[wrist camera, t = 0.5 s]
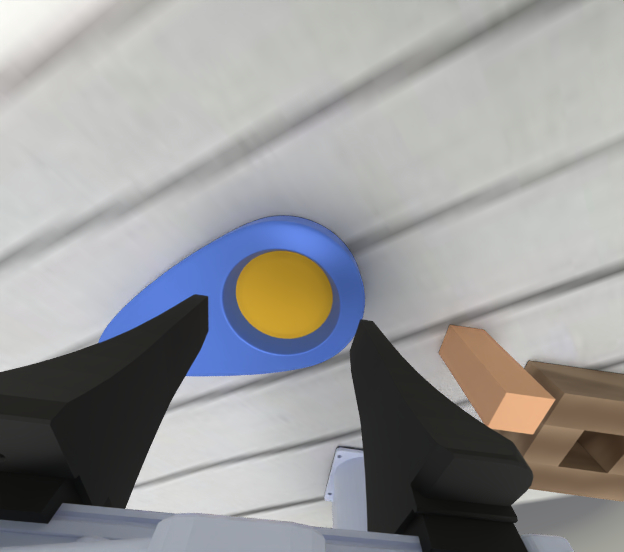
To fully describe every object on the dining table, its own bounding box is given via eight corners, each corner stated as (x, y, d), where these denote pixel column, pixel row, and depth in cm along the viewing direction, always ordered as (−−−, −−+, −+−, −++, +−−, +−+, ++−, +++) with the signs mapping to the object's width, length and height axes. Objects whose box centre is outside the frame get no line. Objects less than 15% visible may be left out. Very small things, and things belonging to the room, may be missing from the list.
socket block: (585, 460, 30) (623, 501, 26) (481, 446, 29) (504, 485, 26) (650, 378, 25) (706, 413, 22) (528, 360, 25) (564, 393, 21)
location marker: (157, 386, 29) (377, 329, 25) (136, 412, 26) (384, 352, 21) (83, 283, 25) (334, 190, 20) (47, 300, 22) (334, 194, 17)
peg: (471, 357, 25) (532, 434, 18) (438, 352, 25) (486, 428, 18) (483, 329, 24) (555, 399, 17) (449, 324, 24) (506, 392, 17)
